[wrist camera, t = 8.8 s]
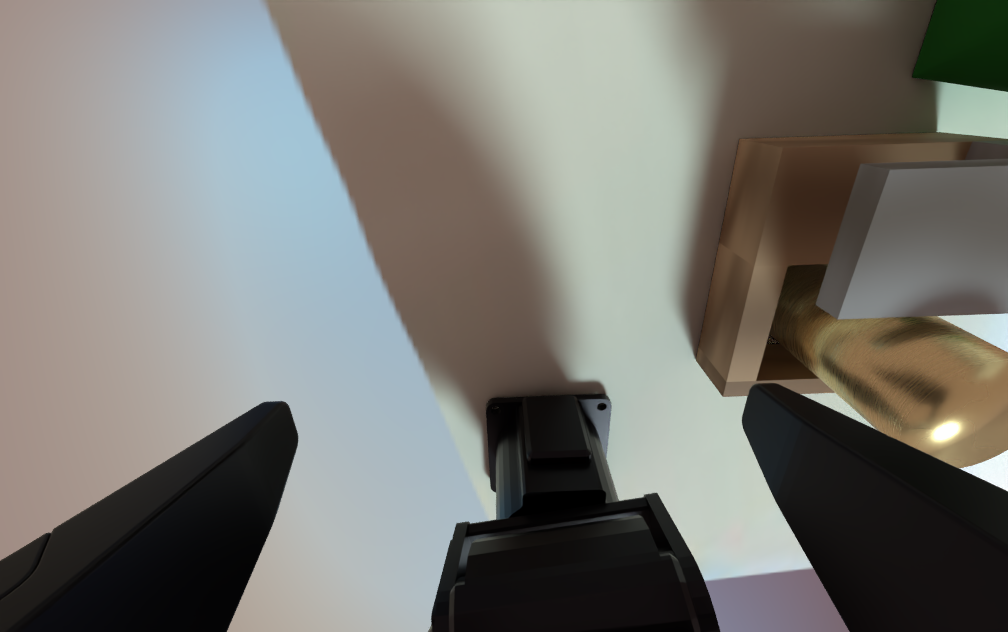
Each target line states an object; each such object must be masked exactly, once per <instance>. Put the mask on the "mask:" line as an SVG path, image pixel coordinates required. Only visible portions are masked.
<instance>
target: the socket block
mask: <svg viewBox="0 0 1008 632" xmlns="http://www.w3.org/2000/svg"><path fill="white" fill-rule="evenodd" d="M812 264H828V267H827V270H826V273H825V276H824V279H823V282H822V286H821V289H820V292H819V295H818V298H817V301H816V304H815V305H817V306H818V307H820V308H821V309H823V310H824V311H826V312H827V313H829V314H830V315H832V316H833V317H835V318H836V319H864V318H892V317H920V316H947V315H975V314H1003V313H1008V139H1002V138H992V137H982V136H972V135H961V134H951V133H941V132H929V133H899V134H870V135H840V136H810V137H781V138H751V139H739V144H738V149H737V154H736V159H735V164H734V170H733V175H732V180H731V185H730V190H729V195H728V200H727V205H726V210H725V215H724V220H723V225H722V230H721V235H720V241H719V246H718V251H717V256H716V261H715V266H714V271H713V276H712V281H711V286H710V291H709V296H708V301H707V306H706V311H705V317H704V322H703V327H702V332H701V337H700V342H699V347H698V352H697V357H696V361H697V363H698V364H699V365H700V367H701V368H702V369H703V371H704V372H705V373H706V375H707V376H708V377H709V379H710V380H711V381H712V383H713V384H714V385H715V387H716V388H717V389H718V391H719V392H720V393H721V395H722V396H723V397H730V396H748V393H749V390H750V388H751V386H752V385H754V384H756V383H777V384H779V385H781V386H784V387H786V388H788V389H790V390H792V391H794V392H796V393H799V394H811V393H835V392H834V391H833V390H832V389H831V388H830V387H828V386H827V385H826V384H825V383H824V382H823V381H822V380H821V379H819V378H818V377H817V376H816V375H815V374H814V373H813V372H812V371H810V370H809V369H808V368H807V367H806V366H805V365H804V364H803V363H801V362H800V361H799V360H798V359H797V358H796V357H795V356H794V355H792V354H791V353H790V352H789V351H788V350H787V349H786V348H785V347H783V346H782V345H781V344H766V343H767V339H768V336H769V332H770V329H771V325H772V321H773V318H774V314H775V310H776V307H777V303H778V300H779V296H780V292H781V289H782V285H783V282H784V278H785V274H786V271H787V267H788V265H812Z"/></svg>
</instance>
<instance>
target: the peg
mask: <svg viewBox="0 0 1008 632" xmlns="http://www.w3.org/2000/svg"><path fill="white" fill-rule="evenodd" d="M827 267H828V264H812V265H788V267H787V271H786V274H785V278H784V282H783V285H782V289H781V292H780V296H779V300H778V303H777V307H776V310H775V314H774V318H773V321H772V325H771V329H770V332H769V334H770V335H771V336H772V337H773V338H774V339H776V340H777V341H778V342H779V343H780V344H781V345H782V346H783V347H785V348H786V349H787V350H788V351H789V352H790V353H791V354H792V355H794V356H795V357H796V358H797V359H798V360H799V361H800V362H801V363H803V364H804V365H805V366H806V367H807V368H808V369H809V370H810V371H812V372H813V373H814V374H815V375H816V376H817V377H818V378H819V379H821V380H822V381H823V382H824V383H825V384H826V385H827V386H828V387H830V388H831V389H832V390H833V391H834V392H835V393H836V394H837V395H838V396H840V397H841V398H842V399H843V400H844V401H845V402H846V403H847V404H849V405H850V406H851V407H852V408H853V409H854V410H855V411H856V412H858V413H859V414H860V415H861V416H862V417H863V418H864V419H865V420H867V421H868V422H869V423H870V424H871V425H872V426H873V427H874V428H876V429H877V430H878V431H880V432H882V433H884V434H886V435H888V436H890V437H893V438H895V439H897V440H899V441H901V442H903V443H905V444H908V445H910V446H912V447H914V448H916V449H918V450H920V451H923V452H925V453H927V454H929V455H931V456H933V457H935V458H937V459H940V460H942V461H944V462H946V463H948V464H950V465H952V466H955V467H957V468H964V467H968V466H972V465H975V464H978V463H981V462H984V461H986V460H989V459H991V458H993V457H995V456H997V455H999V454H1001V453H1003V452H1004V451H1006V450H1008V352H1006V351H1004V350H1002V349H1000V348H998V347H996V346H994V345H992V344H990V343H988V342H986V341H984V340H982V339H980V338H978V337H976V336H975V335H973V334H971V333H969V332H967V331H965V330H963V329H961V328H959V327H957V326H955V325H953V324H951V323H949V322H947V321H945V320H943V319H941V318H939V317H938V316H920V317H892V318H864V319H836V318H835V317H833V316H832V315H830V314H829V313H827V312H826V311H824V310H823V309H821V308H820V307H818V306H817V305H815V304H816V301H817V298H818V295H819V292H820V289H821V286H822V282H823V279H824V276H825V273H826V270H827Z"/></svg>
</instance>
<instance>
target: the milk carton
mask: <svg viewBox="0 0 1008 632" xmlns="http://www.w3.org/2000/svg"><path fill="white" fill-rule="evenodd" d="M912 77H913V78H919V79H927V80H934V81H940V82H947V83H953V84H960V85H966V86H973V87H979V88H986V89H993V90H999V91H1006V92H1008V0H937V2H936V5H935V8H934V11H933V14H932V17H931V20H930V23H929V26H928V29H927V32H926V36H925V39H924V42H923V45H922V48H921V51H920V54H919V57H918V60H917V63H916V66H915V69H914V72H913V75H912Z"/></svg>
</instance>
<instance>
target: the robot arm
mask: <svg viewBox="0 0 1008 632" xmlns="http://www.w3.org/2000/svg"><path fill="white" fill-rule="evenodd" d="M599 403H604V404H603V405H601V406H598V404H599ZM493 407H499V409H497V410H495V409H492V408H493ZM611 407H612V406H611V402H610V399H609V398H608V396H606V395H604V394H592V395H560V396H533V397H511V398H493V399H491V400H489V401H488V402H487V405H486V418H487V434H488V451H489V468H490V484H491V489H492V490H493V491H494V492H496V520H491V521H485V522H479V523H471V524H470V523H469V522H462V523H457V524H456V527H455V531H454V535H453V539H452V540H451V541H450V545H449V548H448V552H447V556H446V560H445V564H444V568H443V572H442V575H441V579H440V584H439V587H438V591H437V595H436V599H435V602H434V606H433V610H432V616H431V620H432V621H431V622H432V625H431V627H430V629H429V631H428V632H720V629H719V625H718V621H717V618H716V614H715V611H714V608H713V605H712V601H711V598H710V595H709V592H708V590H707V587H706V584H705V582H704V579H703V577H702V574H701V572H700V570H699V567H698V565H697V563H696V561H695V559H694V557H693V555H692V554H691V552H690V550H689V548H688V546H687V545H686V543H685V541H684V539H683V538H682V536H681V534H680V532H679V531H678V529H677V527H676V525H675V524H674V522H673V520H672V518H671V517H670V515H669V513H668V511H667V510H666V508H665V506H664V504H663V503H662V501H661V499H660V497H659V495H658V494H657V493H652V494H645V495H644V497H642V498H635V499H629V500H622V501H619V500H618V497H617V493H616V490H615V487H614V483H613V480H612V477H611V474H610V470H609V467H608V464H607V460H606V456H607V446H608V436H609V426H610V416H611ZM742 425H743V429H744V432H745V434H746V436H747V438H748V441H749V443H750V445H751V447H752V450H753V452H754V454H755V457H756V459H757V461H758V463H759V466H760V468H761V470H762V472H763V475H764V477H765V479H766V482H767V484H768V486H769V488H770V490H771V493H772V495H773V497H774V499H775V501H776V503H777V505H778V506H779V508H780V510H781V512H782V514H783V516H784V517H785V519H786V521H787V523H788V524H789V526H790V528H791V530H792V531H793V533H794V535H795V537H796V538H797V540H798V542H799V544H800V545H801V547H802V549H803V551H804V552H805V554H806V556H807V558H808V559H809V561H810V563H811V565H812V566H813V568H814V570H815V572H816V574H817V575H818V577H819V579H820V581H821V582H822V584H823V586H824V588H825V589H826V591H827V593H828V595H829V596H830V598H831V600H832V602H833V603H834V605H835V607H836V609H837V610H838V612H839V614H840V615H841V617H842V619H843V621H844V623H845V624H846V626H847V628H848V630H849V631H850V632H1008V491H1006V490H1004V489H1002V488H1000V487H997V486H995V485H993V484H991V483H989V482H987V481H985V480H982V479H980V478H978V477H976V476H974V475H972V474H970V473H967V472H965V471H963V470H961V469H959V468H957V467H955V466H952V465H950V464H948V463H946V462H944V461H942V460H940V459H937V458H935V457H933V456H931V455H929V454H927V453H925V452H923V451H920V450H918V449H916V448H914V447H912V446H910V445H908V444H905V443H903V442H901V441H899V440H897V439H895V438H893V437H890V436H888V435H886V434H884V433H882V432H880V431H878V430H876V429H873V428H871V427H869V426H867V425H865V424H863V423H861V422H858V421H856V420H854V419H852V418H850V417H848V416H846V415H843V414H841V413H839V412H837V411H835V410H833V409H831V408H829V407H826V406H824V405H822V404H820V403H818V402H816V401H814V400H811V399H809V398H807V397H805V396H803V395H801V394H799V393H796V392H794V391H792V390H790V389H788V388H786V387H784V386H781V385H779V384H777V383H756V384H754V385H752V386H751V388H750V390H749V393H748V397H747V401H746V404H745V408H744V412H743V416H742ZM297 446H298V433H297V430H296V426H295V423H294V420H293V417H292V414H291V411H290V408H289V405H288V404H287V403H286V402H283V401H275V402H264V403H261V404H259V405H258V406H256V407H254V408H253V409H251V410H249V411H248V412H246V413H245V414H243V415H241V416H239V417H238V418H236V419H234V420H233V421H231V422H230V423H228V424H226V425H225V426H223V427H221V428H220V429H218V430H216V431H215V432H213V433H211V434H210V435H208V436H206V437H205V438H203V439H202V440H200V441H198V442H196V443H195V444H193V445H191V446H190V447H188V448H186V449H185V450H183V451H182V452H180V453H178V454H177V455H175V456H173V457H172V458H170V459H168V460H167V461H165V462H163V463H162V464H160V465H158V466H157V467H155V468H153V469H152V470H150V471H149V472H147V473H145V474H143V475H142V476H140V477H139V478H137V479H135V480H134V481H132V482H130V483H129V484H127V485H125V486H124V487H122V488H120V489H119V490H117V491H115V492H114V493H112V494H111V495H109V496H107V497H105V498H104V499H102V500H101V501H99V502H97V503H95V504H94V505H92V506H91V507H89V508H87V509H86V510H84V511H82V512H81V513H79V514H77V515H76V516H74V517H72V518H71V519H69V520H67V521H66V522H64V523H62V524H61V525H59V526H57V527H56V528H54V529H53V531H52V533H46V534H44V535H42V536H41V537H39V538H37V539H36V540H34V541H32V542H31V543H29V544H28V545H26V546H24V547H23V548H21V549H19V550H18V551H16V552H14V553H13V554H11V555H9V556H8V557H6V558H4V559H2V560H1V561H0V632H227V630H228V628H229V625H230V623H231V621H232V618H233V616H234V613H235V611H236V609H237V607H238V604H239V602H240V600H241V597H242V595H243V593H244V590H245V588H246V585H247V583H248V581H249V578H250V576H251V574H252V572H253V569H254V567H255V565H256V562H257V560H258V558H259V555H260V553H261V551H262V548H263V546H264V544H265V541H266V539H267V537H268V534H269V532H270V530H271V527H272V525H273V522H274V519H275V517H276V514H277V511H278V508H279V505H280V501H281V498H282V495H283V492H284V488H285V485H286V482H287V478H288V475H289V472H290V469H291V465H292V462H293V459H294V455H295V453H296V449H297Z"/></svg>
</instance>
